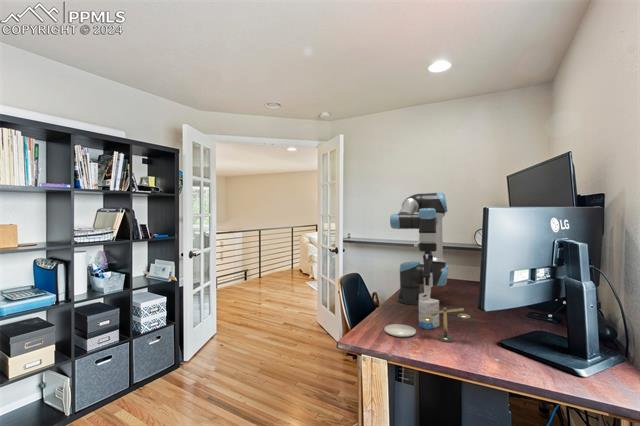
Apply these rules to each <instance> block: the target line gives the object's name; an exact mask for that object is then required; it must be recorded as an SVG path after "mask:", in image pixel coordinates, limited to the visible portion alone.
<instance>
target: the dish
mask: <svg viewBox="0 0 640 426" xmlns="http://www.w3.org/2000/svg"><path fill="white" fill-rule="evenodd" d="M384 332H385V333H386V334H388V335H390V336H392V337H396V338H397V337H398V338H410V337H412V336H415V335H416V334H417V330H416V329H415V328H414V327H412V326H411V325H407V324H402V323H401V324H400V323H399V324H398V323H394V324H387V325H386V326H385V327H384Z"/></svg>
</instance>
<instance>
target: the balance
mask: <svg viewBox="0 0 640 426" xmlns="http://www.w3.org/2000/svg"><path fill="white" fill-rule="evenodd" d="M464 311H465V308H464V307H460V308H451V309H448V308H447V307H446V306H445V307H443V308H442V309H439V311H428V312H427V314H435V313H439V314H442V319H443V321H442V322H443V324H442V325H443V333H441V334H440V333H439V334H437V339H438V340H439V341H440V342H444V343H454V341H455V338H454V337H455V336H453V335H451V334H448V313H451V312H453V313H455V312H464ZM457 317H458V318H461V319H470V318H471V315H470V314H467V313H458V314H457ZM422 320H423V321H428V322H431V321H433V318H431V317H422Z"/></svg>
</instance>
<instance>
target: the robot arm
mask: <svg viewBox="0 0 640 426" xmlns="http://www.w3.org/2000/svg"><path fill="white" fill-rule="evenodd" d="M446 213H448V205H447V200H446V195H445V193H443V192H433V193H432V192H430V193H429V192H427V193H416V194H412V195H410V196H408V197H406V198H405V199H404V200H403V201H402V203H401V209H400V210H399V212H398V213H392V214H391V215H390V217H389V222H390V227H391V229H394V230H395V229H396V230H414V229H415V230H418V234H417V237H418V241H419V243H418V250H419V252H424V254H423V256H422V260H423V263H421V262H420V261H418V260H415V261H413V260H412V261H404V262H402V263H400V265H399V271H398V272H399V290H398V293H397V297H396V300H398V301H399V302H398V301H397V302H398V303H400V302H401V304H403V303H404V305H409V304H410V305H411V306H415V305H416V306H417V305H418V306H419V294H421V293H430V294H432V288H433V286H436V287H437V286H438V287H439V286H440V287H441V286H442V287H444V286H446V285H447V282H448V281H447V280H448V276H449V275H448V274H449V265H447V262H446V261H445V259H444V256H443V253H444V251H443V247H444V246H443V242H444V241H443V219H444V217H445V216H446ZM422 285H423V292H422V289H421V288H422V287H421V286H422Z"/></svg>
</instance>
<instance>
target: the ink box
mask: <svg viewBox="0 0 640 426" xmlns="http://www.w3.org/2000/svg"><path fill="white" fill-rule="evenodd" d="M439 310H440V300H438V299H435V298H431V293H424V292H422V293H421V294H419V304H418V327H419V328H422V329H424V330H431V329H434V328H437V327H440V313H435V314H427V312H428V311H439ZM422 317H431V318H433V321H431V322H428V321H423V320H422Z"/></svg>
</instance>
